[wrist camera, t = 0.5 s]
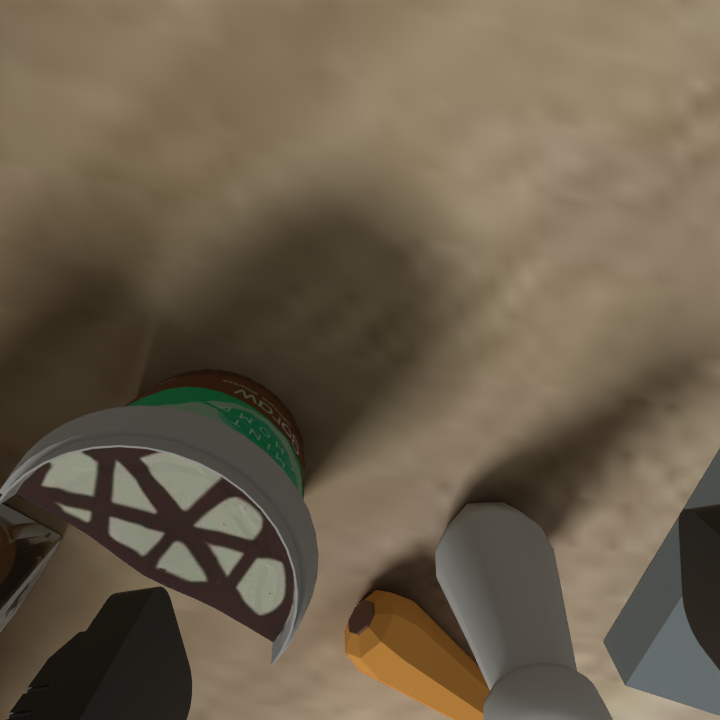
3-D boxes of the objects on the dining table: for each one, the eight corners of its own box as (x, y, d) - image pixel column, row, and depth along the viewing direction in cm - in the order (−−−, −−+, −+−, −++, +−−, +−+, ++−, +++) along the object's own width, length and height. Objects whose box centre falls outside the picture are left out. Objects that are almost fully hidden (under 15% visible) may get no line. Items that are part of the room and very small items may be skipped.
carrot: (342, 588, 34) (321, 667, 30) (398, 566, 31) (381, 649, 28) (556, 748, 40) (559, 829, 36) (618, 740, 37) (627, 826, 34)
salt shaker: (557, 554, 32) (677, 795, 19) (460, 596, 33) (516, 854, 20) (510, 467, 30) (609, 668, 18) (411, 514, 31) (439, 737, 19)
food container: (379, 436, 30) (384, 558, 20) (310, 522, 31) (285, 673, 22) (168, 294, 28) (63, 355, 18) (105, 393, 29) (-21, 498, 20)
